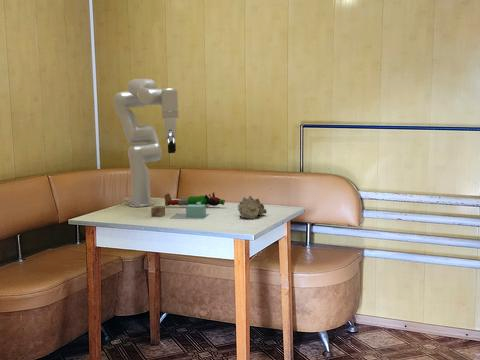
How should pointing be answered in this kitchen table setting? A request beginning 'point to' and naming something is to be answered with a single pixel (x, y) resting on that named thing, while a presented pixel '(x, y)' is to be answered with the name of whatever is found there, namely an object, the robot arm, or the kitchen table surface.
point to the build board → (183, 216)
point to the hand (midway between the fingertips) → (172, 152)
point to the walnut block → (158, 211)
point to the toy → (194, 201)
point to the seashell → (251, 208)
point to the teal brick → (196, 211)
